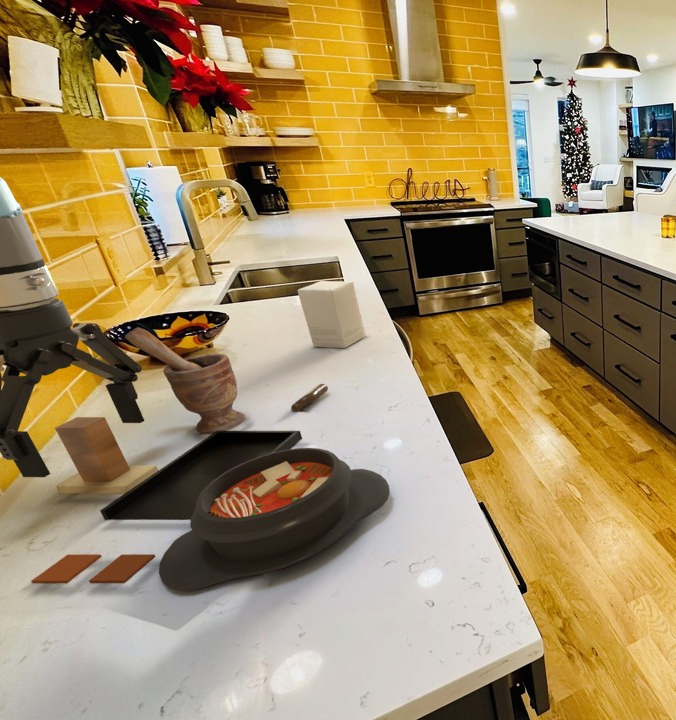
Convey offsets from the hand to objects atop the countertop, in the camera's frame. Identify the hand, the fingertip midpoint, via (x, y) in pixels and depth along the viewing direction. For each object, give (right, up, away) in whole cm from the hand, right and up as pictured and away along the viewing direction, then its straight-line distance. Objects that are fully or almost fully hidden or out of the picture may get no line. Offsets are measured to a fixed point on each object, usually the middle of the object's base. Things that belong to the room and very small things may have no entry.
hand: (89, 446), depth 71 cm
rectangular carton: (+1, +17, +58) cm, 60 cm away
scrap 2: (+18, -13, -12) cm, 25 cm away
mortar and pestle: (+2, -1, +18) cm, 18 cm away
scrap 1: (+11, -13, -12) cm, 21 cm away
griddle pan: (+14, -2, +13) cm, 20 cm away
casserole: (+32, -11, -5) cm, 34 cm away
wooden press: (0, -7, +3) cm, 7 cm away
